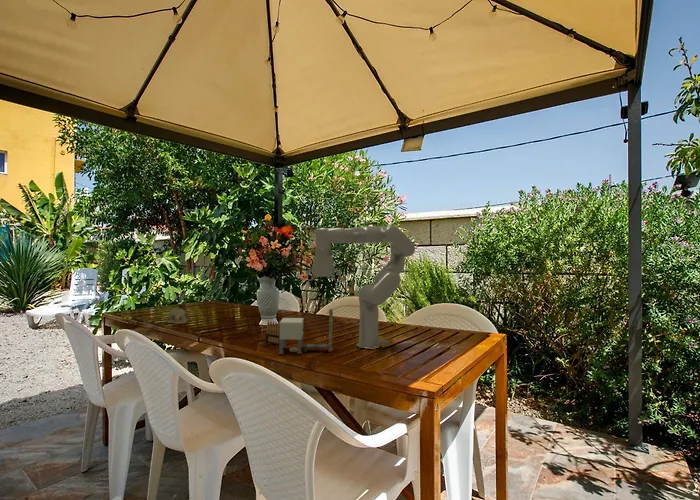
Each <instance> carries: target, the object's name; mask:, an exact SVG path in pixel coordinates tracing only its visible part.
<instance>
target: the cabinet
mask: <svg viewBox="0 0 700 500" xmlns="http://www.w3.org/2000/svg"><path fill="white" fill-rule="evenodd" d="M279 323H280V340H279V346H278V347H279V349H278V355H279V354H283V355H284V349H283V348H285V347H286V348H287V340H296V341H297V348H298V352H297V354H298V353H301V354H302V349H301V347H303V348H304V332H305V327H304V317H282V319H281V320H280V321H279Z"/></svg>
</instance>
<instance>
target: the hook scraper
mask: <svg viewBox="0 0 700 500" xmlns="http://www.w3.org/2000/svg"><path fill="white" fill-rule="evenodd" d="M328 312H329V313H328V315H329V316H328V343H326V344H325V343H322V344H319V343H314V344H313V343H312V344H311V343H308V344H307V343H305V344H304V347H303V349H304V351H307V352H308V350H307V349H328V351H329V350H332V351H333V322H334V320H333V317H334V315H333V314H334V309H333V308H329V310H328Z"/></svg>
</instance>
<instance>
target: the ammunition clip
mask: <svg viewBox="0 0 700 500" xmlns="http://www.w3.org/2000/svg"><path fill="white" fill-rule="evenodd" d="M279 340H280V321H278V322H277V321H274V320H267V323H266V334H265V344H266V343H270V344H269V345H271V344H276V345H275V346H277V345H279Z"/></svg>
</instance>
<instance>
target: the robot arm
mask: <svg viewBox="0 0 700 500" xmlns="http://www.w3.org/2000/svg"><path fill="white" fill-rule="evenodd" d="M314 233H315V234H314V238H315V240H314V245H315V247H314V248H315V254H314V255H315V256H313V262H312V267H311V268H310V269H308V270H306V271H305V274H306V275H307V278H308V279H309V280H310V281H311V283H310V284H311V288H312V290H314V289H316V280H315V279H316V278H317V277H318V278H319V277H322V278H325V277H326V278H329V277H330V278H331V279H332V281H331V284H332V285H331V287H332V288H331V289H333V290H334V289H336V287H337V284H336V283H337V279H338V278H339V277H340V276H341V274H342V271H341V270H339V269H337V268H335V263H334V262H335V261H334V257H333V255H332V254H335V250H332V244H352V243H353V244H376V243H379V244H380V243H381V244H382V243H391V245H390V248H389V250H390V251H389V252H390V259H389V261H388V262H387V263H386V264H385V265H384V266H383V267H382V268H381V269H380V270H379V271H378V272H377V273H376V275H375V276H374V284H371V283H367V284H364V285H363V286H361V287H360V289H359V291H358V302H359V331H358V333H359V334H358V335H359V338H358V341H359V342H357V343H355V346H356V345H357V346H359V347H364V348H374V347H375V346H376V347H377V346H379V344H381V345H382V344H384V345H387V344H388V339H380V338H379V315H380V314H379V313H380V312H379V306H380V305H383V304H384V303H385V302H386V301H387V300H388V299H389V298H390V297H391V296H392V295H393V294H394V293H395V292H396V290H398V288H399V286H400V285H401V276H400V274H402V272H403V270H404V268H405V265H406V258H407V257H411V256H413V255H414V254H415V251H416V245H415V243H414V242H413V241H412V240H411V239H410V238H409V237H408V236H407V235H406V234H405V233H404V231H402V230H401V229H399V228H398V227H397V226H395V225H393V224H391V225H380V226H379V225H377V226H376V225H372V226H371V225H369V226H366V225H365V226H364V225H363V226H357V227H351V228H343V227H333V228H332V227H331V228H328V227H318V228H316V229H315V231H314ZM335 272H336V273H337V274H336V275H335ZM310 273H312V275H311V274H310Z"/></svg>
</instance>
